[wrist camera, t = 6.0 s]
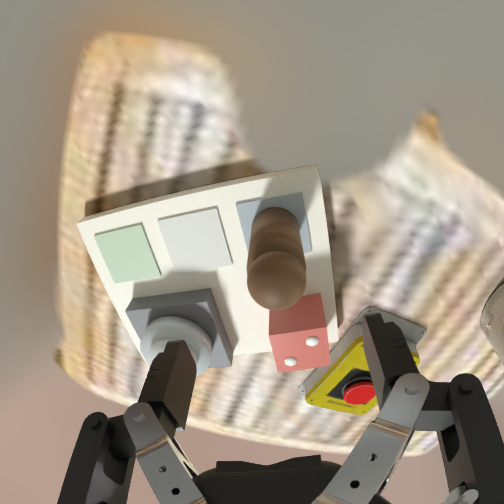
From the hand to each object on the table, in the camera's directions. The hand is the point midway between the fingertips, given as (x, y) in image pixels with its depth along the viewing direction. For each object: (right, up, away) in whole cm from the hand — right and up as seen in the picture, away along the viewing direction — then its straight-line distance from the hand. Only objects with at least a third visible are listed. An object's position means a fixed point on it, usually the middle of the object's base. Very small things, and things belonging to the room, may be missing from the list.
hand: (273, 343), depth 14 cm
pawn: (+1, +6, +11) cm, 12 cm away
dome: (-8, -3, +16) cm, 18 cm away
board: (-4, +2, +16) cm, 16 cm away
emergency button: (+12, -9, +21) cm, 25 cm away
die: (+3, -2, +15) cm, 16 cm away
